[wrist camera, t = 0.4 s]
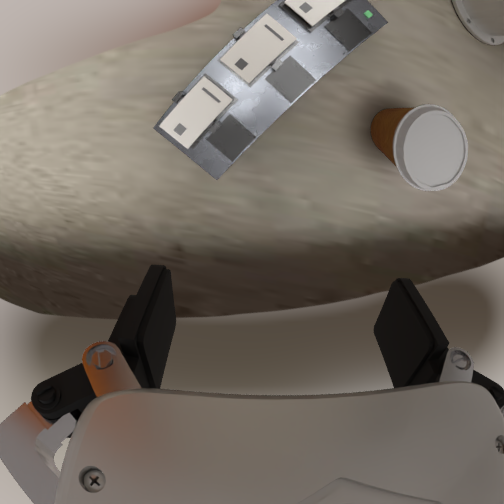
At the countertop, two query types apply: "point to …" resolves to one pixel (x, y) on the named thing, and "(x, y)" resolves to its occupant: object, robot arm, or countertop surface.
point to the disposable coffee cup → (422, 144)
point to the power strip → (273, 79)
